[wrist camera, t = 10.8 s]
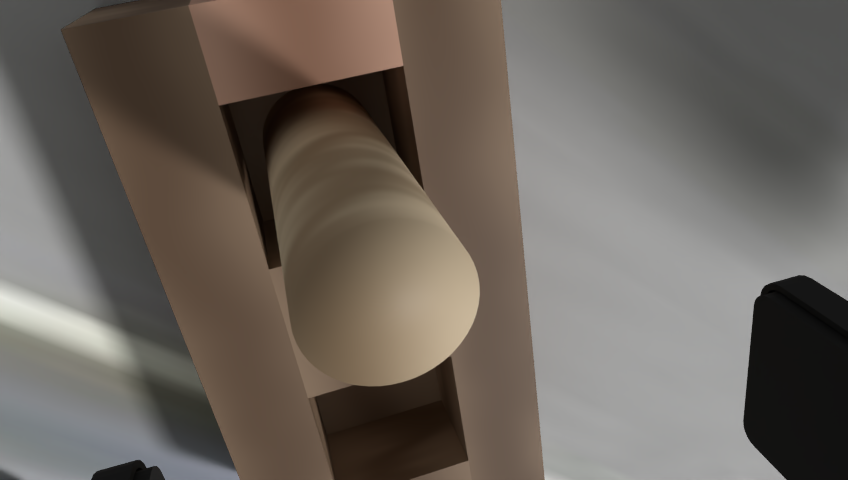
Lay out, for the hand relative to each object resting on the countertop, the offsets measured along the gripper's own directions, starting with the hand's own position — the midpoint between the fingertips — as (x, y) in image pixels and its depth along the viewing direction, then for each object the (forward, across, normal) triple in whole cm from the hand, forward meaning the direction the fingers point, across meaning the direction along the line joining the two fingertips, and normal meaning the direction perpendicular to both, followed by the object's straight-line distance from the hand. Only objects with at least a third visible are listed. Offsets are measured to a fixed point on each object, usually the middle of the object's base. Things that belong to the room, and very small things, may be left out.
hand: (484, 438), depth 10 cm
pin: (+16, +1, 0) cm, 16 cm away
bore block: (+17, +1, +5) cm, 18 cm away
